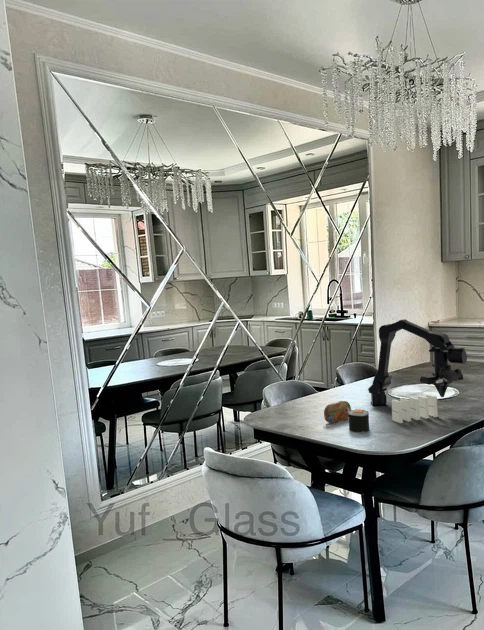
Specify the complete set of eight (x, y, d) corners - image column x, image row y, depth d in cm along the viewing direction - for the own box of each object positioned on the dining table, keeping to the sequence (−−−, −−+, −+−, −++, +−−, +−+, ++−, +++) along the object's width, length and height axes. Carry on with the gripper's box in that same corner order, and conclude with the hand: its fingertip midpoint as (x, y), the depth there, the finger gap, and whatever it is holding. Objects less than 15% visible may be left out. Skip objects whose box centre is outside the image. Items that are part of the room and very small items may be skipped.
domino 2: (408, 421, 206) (407, 400, 205) (400, 418, 210) (399, 398, 210) (411, 421, 206) (410, 400, 206) (404, 418, 211) (403, 398, 210)
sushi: (350, 426, 205) (349, 407, 204) (370, 427, 202) (369, 408, 201) (347, 431, 197) (346, 412, 197) (368, 432, 194) (367, 413, 194)
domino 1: (399, 423, 204) (398, 402, 203) (392, 420, 209) (391, 399, 208) (402, 422, 205) (401, 401, 204) (395, 419, 209) (394, 399, 209)
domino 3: (416, 420, 207) (416, 399, 206) (409, 417, 212) (408, 397, 211) (420, 419, 207) (419, 399, 207) (412, 416, 212) (411, 396, 212)
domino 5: (434, 417, 210) (433, 396, 209) (426, 414, 214) (426, 394, 214) (437, 416, 210) (436, 396, 210) (429, 414, 215) (429, 394, 214)
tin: (328, 425, 207) (327, 406, 207) (323, 424, 210) (322, 405, 209) (352, 418, 216) (351, 399, 215) (346, 417, 219) (345, 398, 218)
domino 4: (425, 418, 208) (425, 398, 208) (418, 415, 213) (417, 395, 212) (428, 418, 209) (428, 397, 208) (421, 415, 214) (420, 395, 213)
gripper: (435, 367, 202) (437, 403, 203) (472, 362, 208) (473, 398, 209) (418, 363, 213) (419, 398, 214) (453, 359, 218) (454, 393, 219)
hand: (442, 397), depth 213 cm, fingers closed
